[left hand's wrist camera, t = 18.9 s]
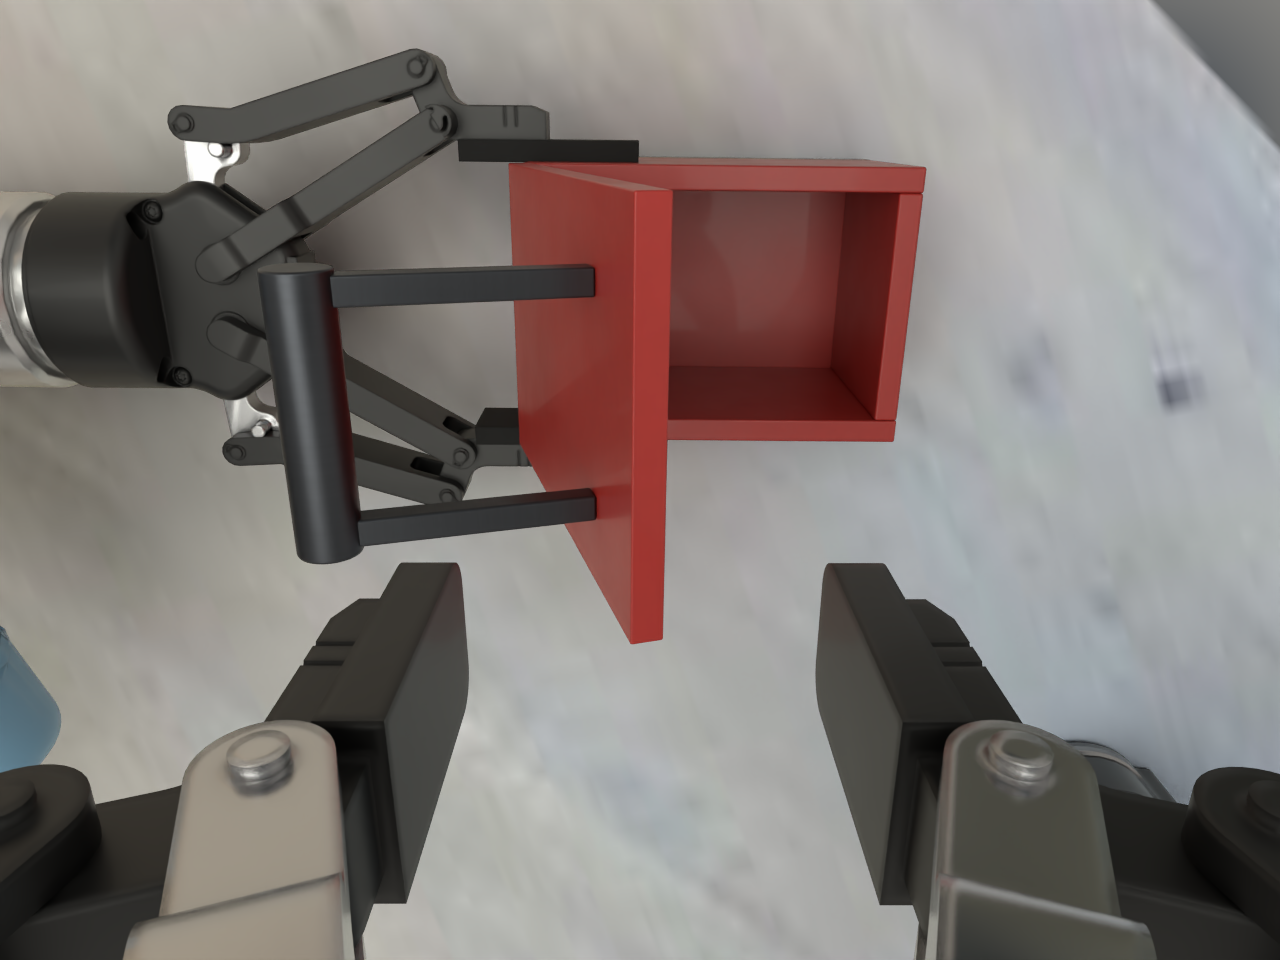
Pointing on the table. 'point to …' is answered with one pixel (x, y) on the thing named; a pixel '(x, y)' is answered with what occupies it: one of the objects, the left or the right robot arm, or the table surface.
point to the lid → (546, 381)
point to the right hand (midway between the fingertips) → (637, 296)
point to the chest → (784, 293)
